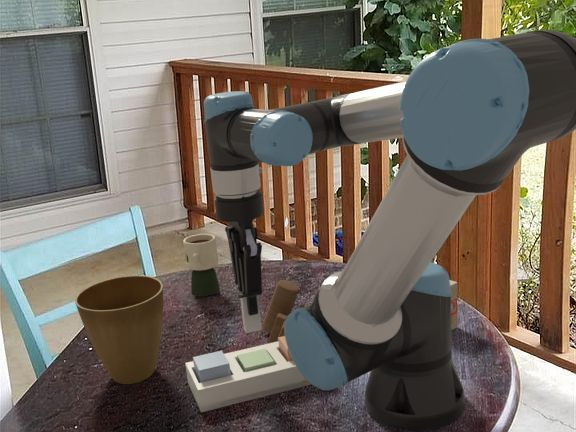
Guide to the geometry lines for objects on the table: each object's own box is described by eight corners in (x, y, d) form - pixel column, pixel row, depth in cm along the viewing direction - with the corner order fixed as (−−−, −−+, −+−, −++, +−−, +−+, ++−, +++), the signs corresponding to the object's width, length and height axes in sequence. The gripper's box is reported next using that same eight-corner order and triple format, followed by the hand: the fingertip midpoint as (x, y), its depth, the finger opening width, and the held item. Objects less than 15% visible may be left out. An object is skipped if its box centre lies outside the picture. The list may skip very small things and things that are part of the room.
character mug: (195, 284, 170) (189, 231, 166) (226, 283, 169) (220, 230, 165) (184, 304, 160) (177, 247, 156) (216, 303, 159) (209, 246, 155)
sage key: (275, 379, 123) (274, 361, 122) (247, 387, 122) (245, 368, 121) (266, 366, 128) (265, 348, 127) (239, 373, 126) (237, 355, 125)
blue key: (231, 382, 120) (229, 363, 119) (201, 389, 119) (199, 370, 118) (224, 369, 125) (221, 350, 124) (195, 376, 124) (192, 357, 123)
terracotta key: (317, 361, 125) (315, 342, 124) (289, 368, 123) (287, 349, 122) (306, 349, 129) (305, 331, 128) (279, 355, 128) (278, 337, 127)
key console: (329, 379, 124) (327, 358, 122) (201, 412, 117) (198, 390, 116) (308, 354, 133) (306, 334, 132) (188, 383, 126) (185, 362, 125)
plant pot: (109, 354, 140) (96, 275, 135) (184, 354, 137) (173, 274, 132) (75, 396, 125) (59, 309, 121) (158, 397, 123) (145, 309, 118)
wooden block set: (294, 372, 132) (312, 325, 128) (249, 355, 133) (265, 307, 129) (309, 324, 149) (325, 281, 145) (269, 309, 149) (284, 266, 145)
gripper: (273, 197, 110) (287, 340, 117) (248, 180, 122) (262, 311, 129) (224, 205, 108) (241, 350, 115) (205, 187, 120) (221, 320, 127)
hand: (252, 329), depth 122 cm, fingers closed
